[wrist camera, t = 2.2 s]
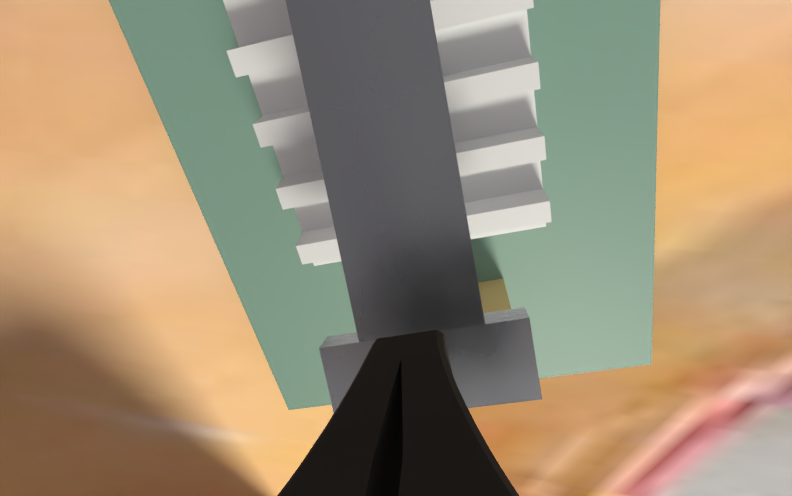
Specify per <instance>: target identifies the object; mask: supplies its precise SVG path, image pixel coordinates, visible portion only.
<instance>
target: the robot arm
mask: <svg viewBox="0 0 792 496" xmlns="http://www.w3.org/2000/svg"><path fill="white" fill-rule="evenodd" d="M278 496H519V495H518V493H517V492H516V490H515V489H514V487H513V486H512V484H511V483H510V481H509V480H508V478H507V476H506V475H505V473H504V472H503V470H502V469H501V467H500V465H499V464H498V462H497V461H496V459H495V457H494V456H493V454H492V452H491V451H490V449H489V447H488V445H487V444H486V442H485V440H484V438H483V436H482V435H481V433H480V431H479V429H478V428H477V426H476V424H475V422H474V420H473V418H472V416H471V414H470V412H469V410H468V408H467V406H466V404H465V402H464V399H463V397H462V395H461V393H460V391H459V389H458V386H457V384H456V382H455V379H454V377H453V373H452V369H451V364H450V360H449V356H448V351H447V347H446V343H445V338H444V334H443V333H442V332H440V331H438V330H431V331H424V332H417V333H411V334H404V335H398V336H391V337H384V338H378V339H376V341H375V342H374V343H373V345H372V347H371V348H370V350H369V352H368V354H367V356H366V358H365V360H364V362H363V364H362V366H361V367H360V369H359V371H358V373H357V375H356V377H355V378H354V380H353V382H352V384H351V386H350V387H349V389H348V391H347V393H346V394H345V396H344V398H343V399H342V401H341V403H340V404H339V406H338V408H337V409H336V411H335V413H334V414H333V416H332V418H331V419H330V421H329V423H328V424H327V426H326V427H325V429H324V430H323V432H322V433H321V435H320V436H319V438H318V439H317V441H316V442H315V444H314V445H313V447H312V448H311V450H310V451H309V453H308V454H307V456H306V457H305V459H304V460H303V462H302V463H301V465H300V466H299V467H298V469H297V470H296V471H295V473H294V474H293V476H292V477H291V478H290V480H289V481H288V482H287V484H286V485H285V486H284V488H283V489H282V490H281V492H280V493H279V494H278Z"/></svg>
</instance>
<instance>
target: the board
mask: <svg viewBox="0 0 792 496" xmlns="http://www.w3.org/2000/svg"><path fill="white" fill-rule="evenodd" d="M109 2H110V4H111V6H112V9H113V11H114V13H115V16H116V18H117V20H118V22H119V25H120V27H121V29H122V32H123V34H124V36H125V38H126V41H127V43H128V45H129V47H130V50H131V52H132V54H133V57H134V59H135V61H136V63H137V66H138V68H139V70H140V72H141V75H142V77H143V79H144V82H145V84H146V86H147V88H148V91H149V93H150V95H151V97H152V100H153V102H154V104H155V107H156V109H157V111H158V113H159V116H160V118H161V120H162V123H163V125H164V127H165V129H166V132H167V134H168V136H169V138H170V141H171V143H172V145H173V148H174V150H175V152H176V154H177V157H178V159H179V161H180V163H181V166H182V168H183V170H184V173H185V175H186V177H187V179H188V182H189V184H190V186H191V189H192V191H193V193H194V195H195V198H196V200H197V202H198V204H199V207H200V209H201V211H202V214H203V216H204V218H205V220H206V223H207V225H208V227H209V229H210V232H211V234H212V236H213V239H214V241H215V243H216V245H217V248H218V250H219V252H220V255H221V257H222V259H223V261H224V264H225V266H226V268H227V270H228V273H229V275H230V277H231V280H232V282H233V284H234V286H235V289H236V291H237V293H238V295H239V298H240V300H241V302H242V305H243V307H244V309H245V311H246V314H247V316H248V318H249V320H250V323H251V325H252V327H253V330H254V332H255V334H256V336H257V339H258V341H259V343H260V346H261V348H262V350H263V352H264V355H265V357H266V359H267V361H268V364H269V366H270V368H271V371H272V373H273V375H274V377H275V380H276V382H277V384H278V386H279V389H280V391H281V393H282V396H283V398H284V400H285V402H286V405H287V407H288V409H289V410H292V409H300V408H308V407H316V406H324V405H332V403H331V398H330V394H329V390H328V385H327V381H326V377H325V372H324V368H323V363H322V359H321V355H320V350H319V347H320V346H321V345H322V343H323V342H324V340H325V339H326V337H327V336H332V335H339V334H346V333H353V332H357V331H356V326H355V322H354V317H353V312H352V308H351V303H350V298H349V294H348V289H347V284H346V280H345V275H344V270H343V266H342V261H341V256H340V252H339V247H338V242H337V238H336V233H335V228H334V224H333V219H332V215H331V210H330V205H329V201H328V196H327V191H326V187H325V182H324V177H323V173H322V168H321V163H320V159H319V154H318V149H317V145H316V140H315V135H314V131H313V126H312V122H311V117H310V112H309V108H308V103H307V98H306V94H305V89H304V84H303V80H302V75H301V70H300V66H299V61H298V56H297V52H296V47H295V42H294V38H293V33H292V29H291V24H290V19H289V15H288V10H287V5H286V1H285V0H109ZM430 4H431V9H432V15H433V21H434V27H435V33H436V39H437V45H438V50H439V56H440V62H441V68H442V74H443V80H444V86H445V91H446V97H447V103H448V109H449V115H450V121H451V127H452V133H453V138H454V144H455V150H456V156H457V162H458V168H459V174H460V179H461V185H462V191H463V197H464V203H465V209H466V215H467V220H468V226H469V232H470V238H471V244H472V250H473V256H474V261H475V267H476V273H477V279H478V285H479V291H480V297H481V303H482V308H483V313H488V312H495V311H502V310H509V309H515V308H522V307H525V309H526V311H527V314H528V316H529V318H530V324H531V331H532V337H533V344H534V350H535V357H536V363H537V370H538V376H539V378H546V377H554V376H562V375H570V374H578V373H586V372H594V371H602V370H610V369H618V368H626V367H634V366H641V365H649V364H651V362H652V321H653V279H654V238H655V196H656V155H657V113H658V72H659V30H660V0H430Z"/></svg>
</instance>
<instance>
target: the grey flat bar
mask: <svg viewBox="0 0 792 496" xmlns="http://www.w3.org/2000/svg"><path fill="white" fill-rule="evenodd" d="M285 1H286V5H287V10H288V15H289V19H290V24H291V29H292V33H293V38H294V42H295V47H296V52H297V56H298V61H299V66H300V70H301V75H302V80H303V84H304V89H305V94H306V98H307V103H308V108H309V112H310V117H311V122H312V126H313V131H314V135H315V140H316V145H317V149H318V154H319V159H320V163H321V168H322V173H323V177H324V182H325V187H326V191H327V196H328V201H329V205H330V210H331V215H332V219H333V224H334V228H335V233H336V238H337V242H338V247H339V252H340V256H341V261H342V266H343V270H344V275H345V280H346V284H347V289H348V294H349V298H350V303H351V308H352V312H353V317H354V322H355V326H356V331H357V332H353V333H346V334H339V335H332V336H327V337H326V339H325V340H324V342H323V343H322V345H321V346H320V347H319V350H320V355H321V359H322V363H323V368H324V372H325V377H326V381H327V385H328V390H329V394H330V398H331V403H332V407H333V411H334V413H335V411H336V409H337V408H338V406H339V404H340V403H341V401H342V399H343V398H344V396H345V394H346V393H347V391H348V389H349V387H350V386H351V384H352V382H353V380H354V378H355V377H356V375H357V373H358V371H359V369H360V367H361V366H362V364H363V362H364V360H365V358H366V356H367V354H368V352H369V350H370V348H371V347H372V345H373V343H374V342H375V341H376V339H378V338H384V337H391V336H398V335H404V334H411V333H417V332H424V331H431V330H438V331H440V332H442V333H443V334H444V338H445V343H446V347H447V351H448V356H449V360H450V364H451V369H452V373H453V377H454V379H455V382H456V384H457V386H458V389H459V391H460V393H461V395H462V397H463V399H464V402H465V404H466V406H467V408H472V407H481V406H489V405H497V404H506V403H514V402H522V401H531V400H539V399H542V395H541V389H540V382H539V376H538V370H537V363H536V357H535V350H534V344H533V337H532V331H531V324H530V318H529V316H528V314H527V311H526V309H525V307H522V308H515V309H509V310H502V311H495V312H488V313H483V308H482V303H481V297H480V291H479V285H478V279H477V273H476V267H475V261H474V256H473V250H472V244H471V238H470V232H469V226H468V220H467V215H466V209H465V203H464V197H463V191H462V185H461V179H460V174H459V168H458V162H457V156H456V150H455V144H454V138H453V133H452V127H451V121H450V115H449V109H448V103H447V97H446V91H445V86H444V80H443V74H442V68H441V62H440V56H439V50H438V45H437V39H436V33H435V27H434V21H433V15H432V9H431V4H430V0H285Z"/></svg>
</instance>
